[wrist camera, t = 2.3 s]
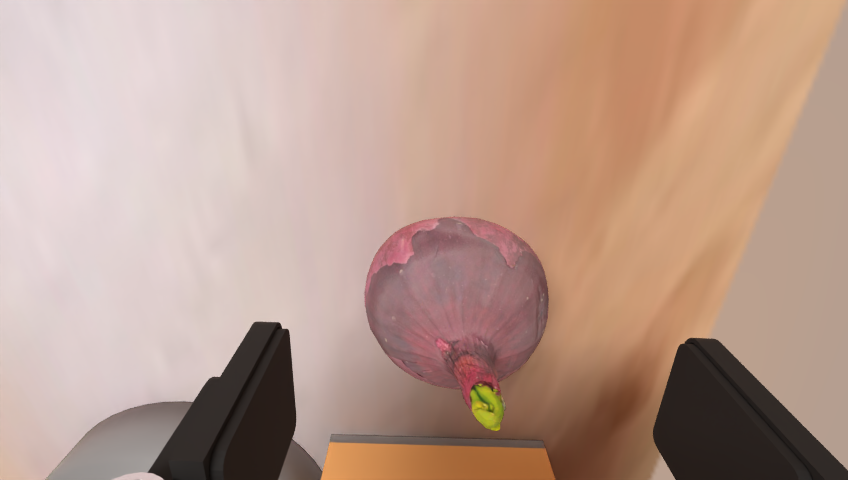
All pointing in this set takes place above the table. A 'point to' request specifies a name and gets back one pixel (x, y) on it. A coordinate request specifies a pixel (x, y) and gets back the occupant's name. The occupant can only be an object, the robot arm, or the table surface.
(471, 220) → the vegetable
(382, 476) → the dome with orange frame
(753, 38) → the table surface
